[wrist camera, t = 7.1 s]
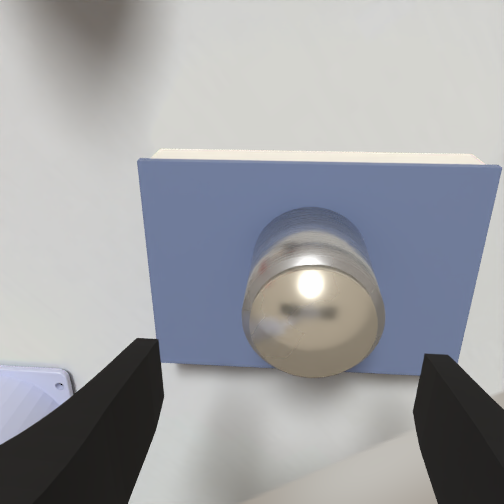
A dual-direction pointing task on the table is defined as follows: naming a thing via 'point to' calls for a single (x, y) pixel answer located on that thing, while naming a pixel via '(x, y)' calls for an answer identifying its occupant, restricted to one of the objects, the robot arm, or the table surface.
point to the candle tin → (312, 295)
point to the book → (323, 196)
